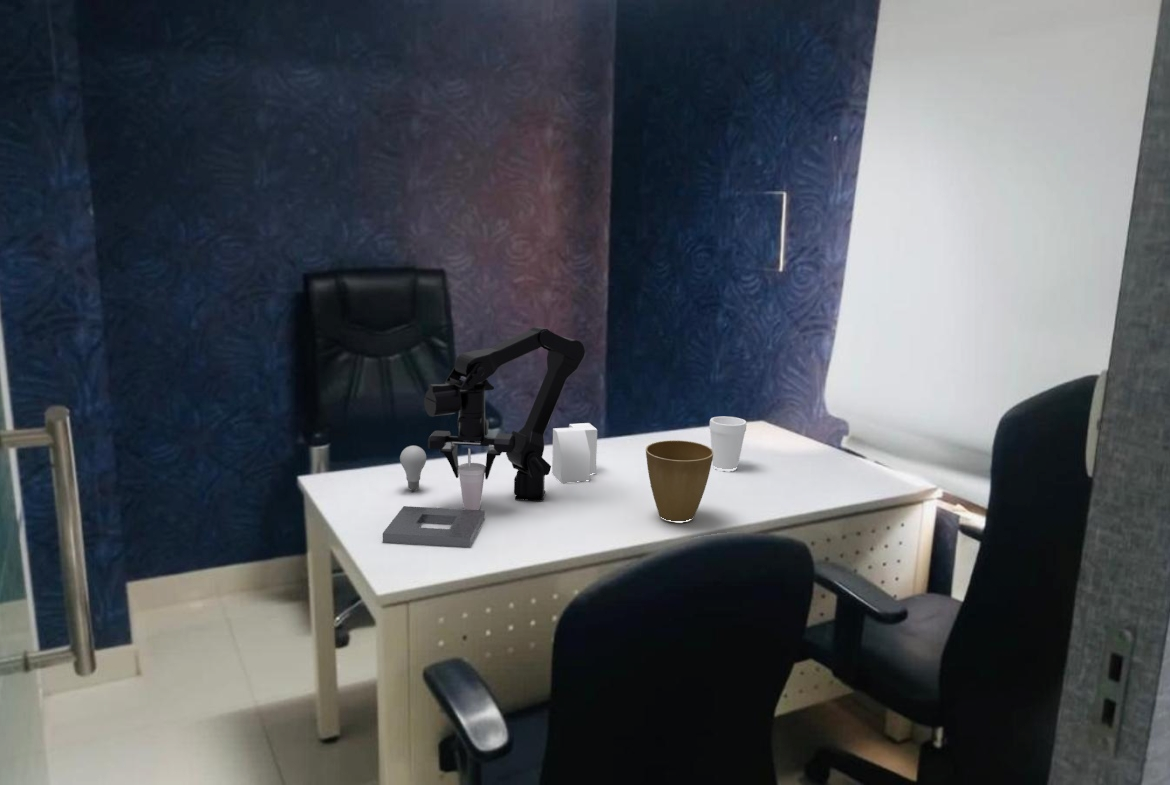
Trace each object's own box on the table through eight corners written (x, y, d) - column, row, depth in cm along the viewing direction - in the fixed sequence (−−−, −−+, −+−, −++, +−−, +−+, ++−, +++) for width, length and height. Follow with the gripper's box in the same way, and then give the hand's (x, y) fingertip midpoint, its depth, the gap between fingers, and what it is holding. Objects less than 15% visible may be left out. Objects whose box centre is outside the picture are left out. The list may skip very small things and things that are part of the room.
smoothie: (458, 502, 206) (458, 444, 203) (486, 502, 206) (486, 444, 203) (456, 512, 200) (456, 452, 196) (485, 512, 200) (486, 452, 197)
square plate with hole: (484, 519, 197) (484, 510, 196) (470, 547, 181) (470, 538, 181) (403, 514, 198) (403, 506, 198) (382, 542, 182) (382, 533, 182)
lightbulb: (421, 495, 210) (420, 450, 208) (396, 493, 211) (395, 448, 209) (430, 487, 216) (430, 443, 214) (406, 485, 217) (405, 441, 215)
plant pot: (641, 505, 208) (644, 439, 205) (705, 507, 208) (709, 441, 204) (643, 529, 194) (646, 458, 190) (712, 531, 194) (717, 460, 190)
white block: (587, 467, 236) (588, 422, 233) (601, 480, 225) (603, 434, 223) (548, 469, 232) (549, 425, 230) (561, 483, 222) (562, 437, 219)
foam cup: (748, 467, 239) (752, 420, 236) (734, 476, 232) (738, 427, 229) (715, 460, 244) (718, 414, 241) (701, 469, 237) (704, 421, 234)
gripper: (519, 404, 205) (518, 469, 209) (438, 400, 206) (439, 465, 210) (511, 416, 194) (511, 484, 198) (426, 412, 195) (427, 480, 199)
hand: (472, 478), depth 201 cm, fingers closed on smoothie, 6 cm apart
